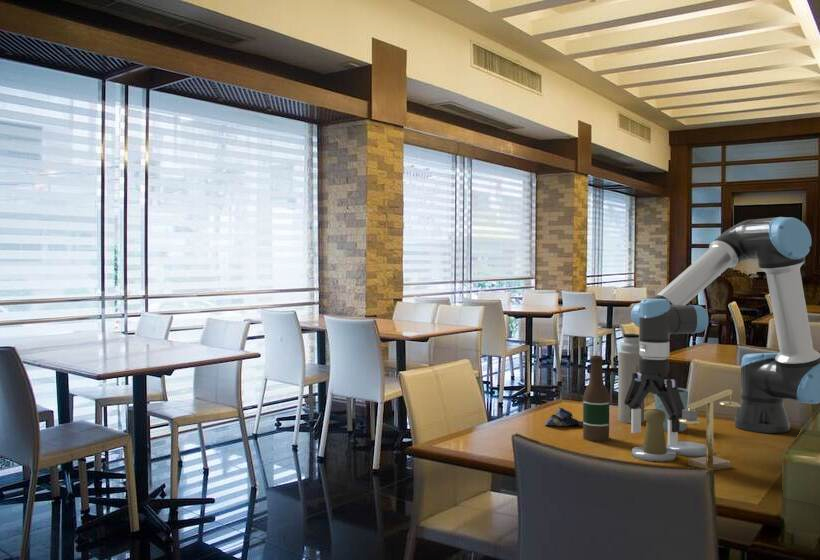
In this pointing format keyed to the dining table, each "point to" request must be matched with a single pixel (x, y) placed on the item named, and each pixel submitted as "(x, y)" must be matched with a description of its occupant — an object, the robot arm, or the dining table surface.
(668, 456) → the dish low end
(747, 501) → the dining table surface
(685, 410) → the balance
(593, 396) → the beer bottle
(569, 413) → the snack package
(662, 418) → the pepper shaker
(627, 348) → the thermos bottle
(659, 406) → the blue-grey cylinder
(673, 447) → the dish high end
